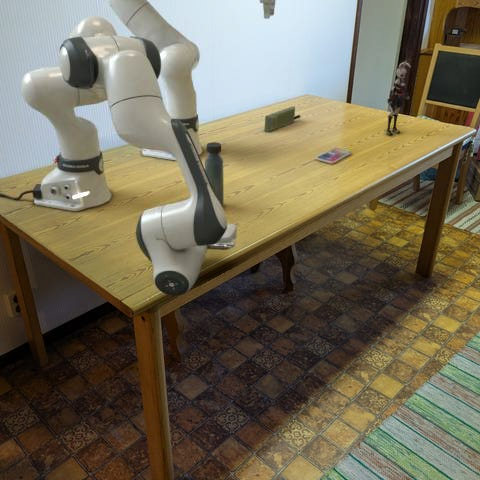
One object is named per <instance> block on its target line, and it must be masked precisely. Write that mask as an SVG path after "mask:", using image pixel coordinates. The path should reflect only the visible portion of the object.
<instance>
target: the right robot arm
mask: <svg viewBox="0 0 480 480" xmlns="http://www.w3.org/2000/svg"><path fill="white" fill-rule="evenodd" d="M258 1H259V4H262V8H263V19H264V20H268V19H270V18H271V17H272V16H274V15H275V8H276V0H258ZM108 4H109V6H110V8H111V9H112V10H113V12H114V14H115V15H116V16H117V18H118V19H119V20H120V21H121V22H122V24H123V25H124V26H125V27H126V28H127V29H128V30H129V31H130V33H132V35H133V36H134V37H140V38H144V39H147V40H149V41H151V42H153V43H154V45H155V46H156V47H157V49H158V50H159V53H160V57H161V72H160V75H159V76H160V79H161V83H162V86H163V91H164V98H165V108H166V110H167V112H168V113H169V115H170V116H171V117H172V118H173V119H176V120H179V121H181V122H182V123H183V125H184V126H185V127H186V129H187V130H188V132H189V134H190V136H191V138H192V140H193V143H194V145H195V147H196V149H197V152H198V154H199V156H200V155H202V153H203V149H202V148H203V147H202V145H201V142H200V134H199V128H200V121H199V114H198V103H197V91H196V90H195V86H194V82H193V76H192V75H193V74H192V73H193V71H195V70H196V68H197V67H198V65H199V62H200V59H201V51H200V49H199V47H198V46H197V44H195V42H193V41H191V40H190V39H189V38H187V37H186V36H185V35H184V34H182V32H181V31H179V30H178V29H176V28H175V27H174V26H173V25H171V24H170V23H169V22H168V21H167V20H166V19H165V18H164V17H163V16H162V15H161V14H160V13H159V11H157V9H156V8H154V6H153V5H152V4H151V3H150V2H149V1H148V0H108ZM141 155H142V156H145V157H152V158H157V159H164V160H170V161H176V162H177V160H176V159H175V157H174V156H173V155H171V154H170V153H168V152H165V151H159V150H150V149H143V148H142V150H141Z"/></svg>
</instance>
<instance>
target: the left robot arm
mask: <svg viewBox="0 0 480 480" xmlns="http://www.w3.org/2000/svg"><path fill="white" fill-rule="evenodd" d="M160 72H161V57H160V53H159V50H158V49H157V47H156V46H155V45H154V43H153V42H151V41H149V40H147V39H144V38H140V37H136V36H121V35H118V34H117V30H116V29H115V27H114V25H112V23H111V22H109V21H108V20H107V19H105V18H104V17H101V16H96V15H93V16H90V15H89V16H87V17H84V18H82V19H81V20H80V22H79V23H77V24H76V25H75V26H74V27H73V29H72V31H70V33H69V35H68V37H67V38H66V39H65V40H63V42H62V43H61V45H60V47H59V52H58V65H57V66H46V67H40V68H37V69H34V70H31V71H28V72H26V73H24V75H23V77H22V79H21V83H20V91H21V95H22V98H23V100H24V101H25V103H26V104H27V105H28V106H29V107H30V108H31V109H33V110H34V111H37V112H38V113H40V114H41V115H43V116H44V117H45V118H46V119H47V120H48V121H49V122H50V123H51V125H52V126H53V129H54V131H55V134H56V137H57V141H58V145H59V151H60V152H59V154H58V155H56V156H55V158H53V164H57V166H56V167H54V168H53V169H52V170H51V171H50V172H49V173H48V174H46V175H45V176H44V177H43V179H42V181H41V183H36V184H35V185H34V187H33V189H30V190H26V191H23V192H20V194H19V196H17V197H12V196H10V195H7V194H4V193H1V192H0V197H4V198H6V199H9V200H12V201H19V200H21V199H22V198H23V196H24V195H27V194H32V198H33V199H34V200H33V201H34V205H36V206H42V207H46V208H47V207H48V208H54V209H59V210H65V211H70V212H71V211H72V212H80V211H83V210H85V209H89V208H94V207H98V206H101V205H103V204H105V203H107V202H109V201H110V200H111V198H112V192H111V190H110V188H109V185H108V183H107V179H106V174H105V162H104V156H103V152H102V151H101V146H100V138H99V130H98V127H97V126H96V124H95V123H94V122H93V121H91V120H89V119H86V118H84V117H82V116H78V115H77V114H76V111H75V108H77V107H83V106H91V105H98V104H100V103H103V102H107V103H108V109H109V113H110V117H111V122H112V124H113V128H114V129H115V132H116V135H117V136H118V137H119V138H120V139H121V140H122V141H123V142H125V143H126V144H128V145H130V146H132V147H134V148H139V149H142V150H143V149H150V150H159V151H165V152H168V153H170V154H171V155H173V156H174V157H175V159H176V160H177V161H176V160H175V161H176V162H177V164H178V167H179V169H180V172H181V175H182V176H183V179H184V181H185V183H186V186H187V189H188V192H189V193H190V194H189V195H190V196H189V198H188V199H187V198H186V199H184V200H180V201H175V202H173V203H169V204H163V205H159V206H155V207H152V208H149V209H145V210H143V212H141V214H140V216H139V218H138V219H137V220H138V221H137V224H136V227H135V238H136V242H137V245H138V247H139V249H140V250H141V252H142V254H143V255H144V256H145V257H146V258H147V260H149V262H151V263H152V269H153V273H152V275H153V277H152V279H153V283H154V285H155V286H154V287H156V289H157V290H158V291H159V292H161V293H162V294H165V295H168V296H181V295H185V294H186V293H188V292H189V291H190V290H191V289H193V287H194V285H195V283H196V281H197V280H198V277H199V275H200V273H201V269H202V264H203V263H204V261H205V258H206V256H207V253H208V250H216V251H227V250H230V249H232V248H234V247H235V246H236V242H237V239H238V238H237V237H238V226H237V225H236V224H235V223H229V222H228V218H227V215H226V212H225V209H224V207H223V208H222V206H221V204H220V202H219V200H218V198H217V196H216V194H215V192H214V190H213V188H212V185H211V183H210V181H209V178H208V176H207V173H206V171H205V165H204V163H203V161H202V159H201V157H200V155H199V154H198V152H197V149H196V147H195V145H194V143H193V140H192V138H191V136H190V134H189V132H188V130H187V129H186V127H185V126H184V125H183V123H182V122H181V121H179V120H176V119H173V118H172V117H171V116H170V115H169V113H168V112H167V110H166V104H165V103H164V102H165V101H164V98H163V94H162V91H161V87H160V84H159V81H158V80H159V77H160V76H161V75H160Z"/></svg>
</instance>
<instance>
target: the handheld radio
mask: <svg viewBox="0 0 480 480" xmlns="http://www.w3.org/2000/svg"><path fill="white" fill-rule="evenodd" d="M300 118H301V115H300V114H298V115H296V106H295V105H293V106H289V107H286V108H284V109H281V110H279V111H276V112H273V113H270V114H267V115H265V117H264V132H266V133H269V132H272V131H274V130H277V129H279V128H282V127H284V126H287V125H290V124H292V123H294V122H295V120H297V119H300Z"/></svg>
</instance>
